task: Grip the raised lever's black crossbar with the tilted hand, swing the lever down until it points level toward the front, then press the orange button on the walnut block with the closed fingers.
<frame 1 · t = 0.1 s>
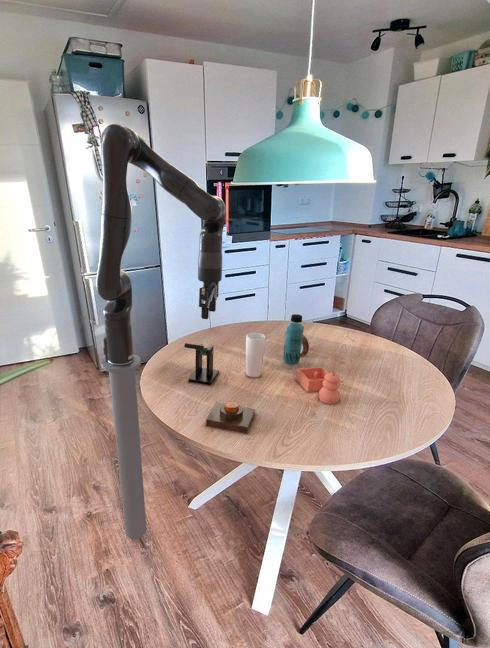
hand: (208, 314, 127), 23 cm above the table, tool pointing down, fingers open, 8 cm apart
beverage bottle: (290, 365, 148), on the table
button block: (231, 420, 113), on the table
lever: (199, 349, 127), point 13 cm above the table, hinge at 30.0°
bracket: (204, 377, 137), on the table
tin: (295, 351, 161), on the table
pottery: (320, 391, 131), on the table
drinking glass: (253, 375, 140), on the table
button: (231, 407, 111), point 5 cm above the table, slide at 0.2 cm
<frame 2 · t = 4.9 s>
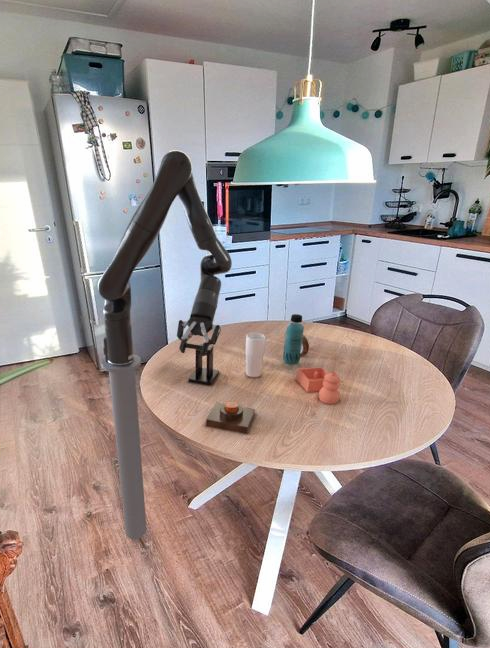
hand: (192, 353, 120), 14 cm above the table, tool tilted 45°, fingers closed on lever, 6 cm apart
lever: (199, 349, 127), point 13 cm above the table, hinge at 30.0°, touching gripper
everything else where it was.
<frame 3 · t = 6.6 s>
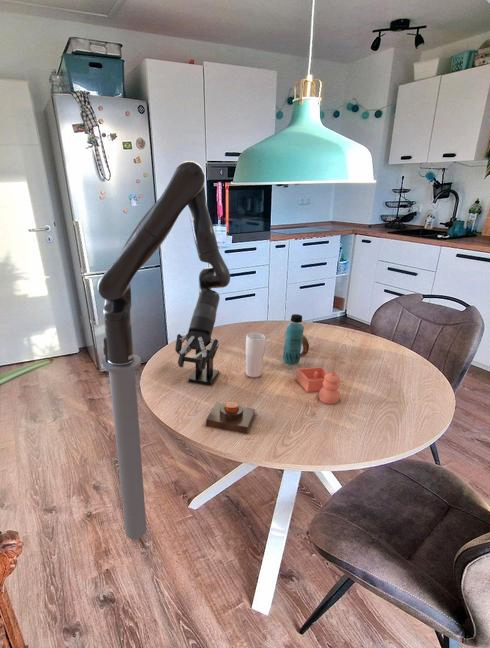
hand: (190, 368, 120), 10 cm above the table, tool tilted 45°, fingers closed on lever, 6 cm apart
lever: (199, 355, 127), point 11 cm above the table, hinge at 9.3°, touching gripper
everything else where it was.
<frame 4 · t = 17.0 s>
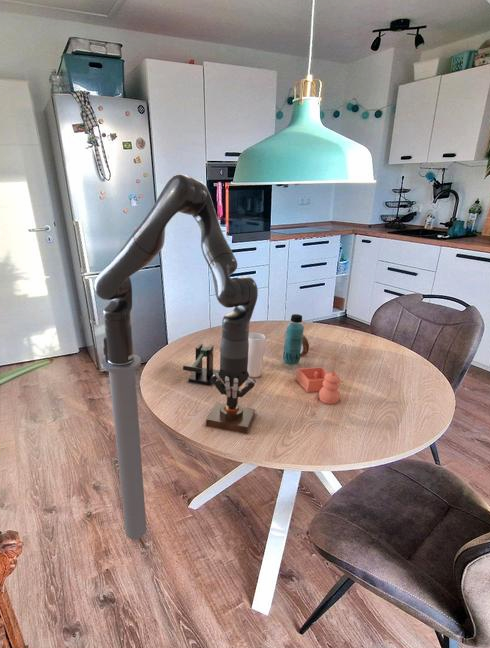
hand: (231, 407, 111), 4 cm above the table, tool pointing down, fingers closed
lever: (199, 359, 128), point 9 cm above the table, hinge at -5.5°
button: (231, 409, 111), point 4 cm above the table, slide at -0.8 cm, touching gripper
everything else where it was.
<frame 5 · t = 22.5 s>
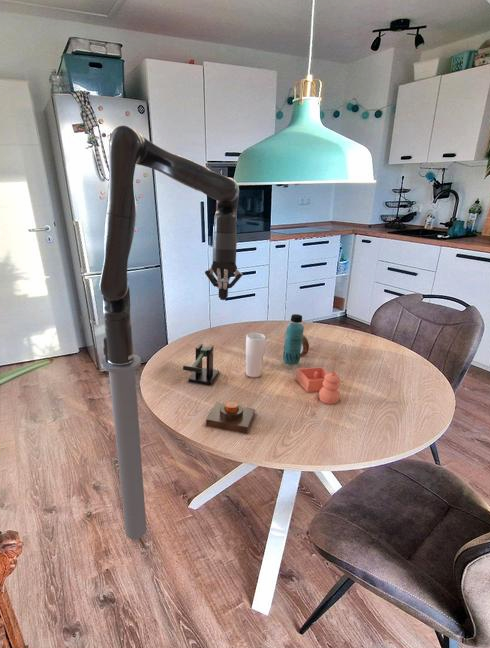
hand: (223, 299, 130), 27 cm above the table, tool pointing down, fingers closed
button: (231, 407, 111), point 5 cm above the table, slide at 0.2 cm
everything else where it was.
at the end: lever at -6° (first picture: +30°); button pushed in 1.0 cm at the most during the clip, back to 0.2 cm at the end; button slide at 0.2 cm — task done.
